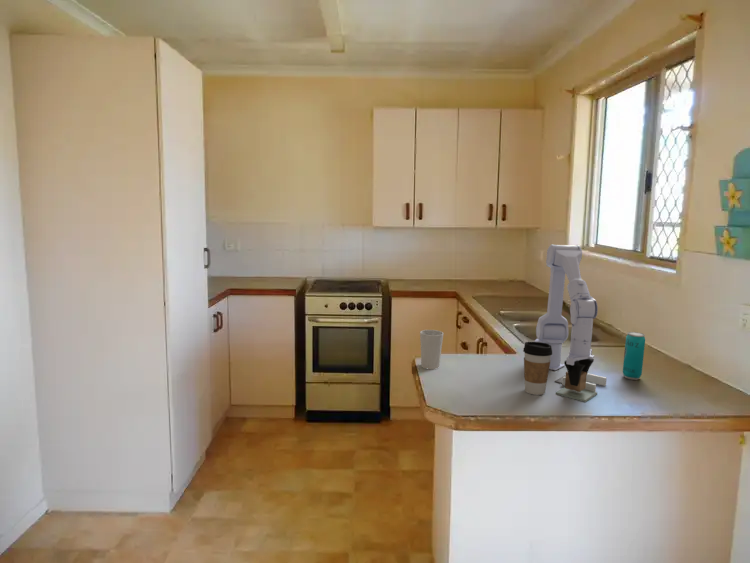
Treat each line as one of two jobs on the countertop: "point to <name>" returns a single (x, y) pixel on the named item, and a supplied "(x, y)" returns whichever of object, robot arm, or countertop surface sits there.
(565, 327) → the robot arm
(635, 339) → the beverage can
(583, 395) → the coaster
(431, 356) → the cup
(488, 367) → the countertop surface
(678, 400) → the countertop surface
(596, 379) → the white u-shaped frame
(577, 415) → the countertop surface
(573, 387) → the block
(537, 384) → the coffee cup
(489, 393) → the countertop surface
